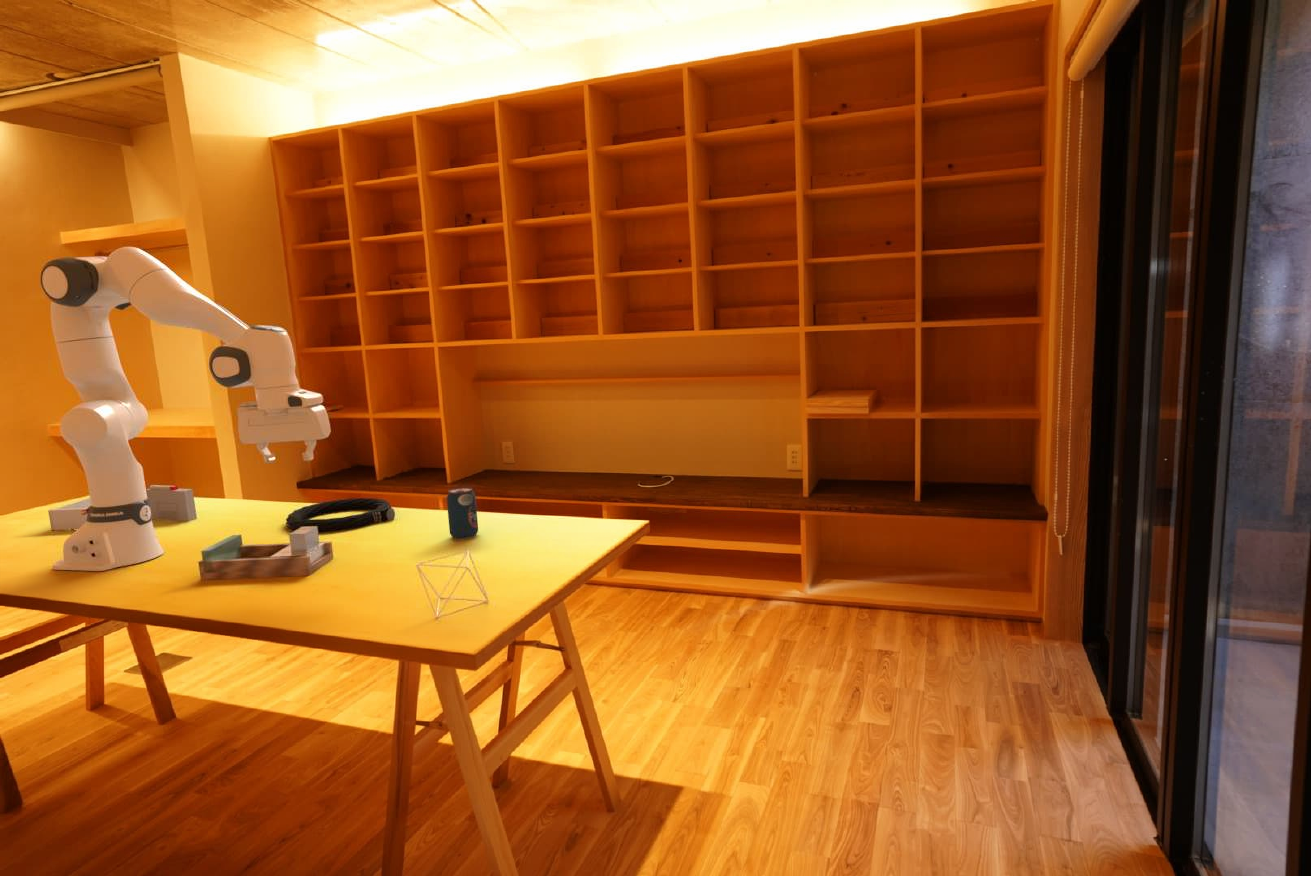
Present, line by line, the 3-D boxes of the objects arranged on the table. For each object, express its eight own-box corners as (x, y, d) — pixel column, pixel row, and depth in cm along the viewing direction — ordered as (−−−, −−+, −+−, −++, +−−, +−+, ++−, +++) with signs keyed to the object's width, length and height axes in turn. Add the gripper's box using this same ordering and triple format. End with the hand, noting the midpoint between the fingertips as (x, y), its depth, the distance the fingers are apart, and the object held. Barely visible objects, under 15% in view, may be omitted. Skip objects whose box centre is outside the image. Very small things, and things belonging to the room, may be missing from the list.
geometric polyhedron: (413, 606, 145) (408, 560, 143) (464, 590, 152) (460, 546, 150) (444, 623, 136) (439, 575, 134) (497, 605, 143) (493, 559, 141)
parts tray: (51, 531, 216) (48, 510, 215) (110, 510, 239) (107, 491, 238) (96, 529, 216) (92, 508, 215) (151, 508, 239) (148, 490, 238)
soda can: (478, 538, 188) (474, 491, 186) (449, 541, 186) (445, 493, 184) (478, 531, 195) (474, 485, 193) (450, 534, 193) (446, 488, 191)
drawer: (200, 579, 166) (196, 550, 165) (232, 562, 178) (228, 535, 177) (309, 575, 166) (305, 546, 165) (333, 558, 177) (330, 531, 176)
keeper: (271, 567, 167) (267, 536, 166) (291, 554, 176) (288, 525, 175) (307, 566, 167) (303, 535, 166) (325, 553, 176) (322, 524, 175)
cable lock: (325, 496, 229) (416, 496, 223) (327, 508, 230) (418, 508, 224) (261, 520, 203) (362, 521, 196) (263, 534, 203) (364, 535, 197)
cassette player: (197, 519, 223) (192, 485, 221) (188, 521, 220) (183, 487, 219) (157, 517, 228) (152, 484, 226) (149, 519, 225) (143, 486, 224)
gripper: (226, 404, 165) (237, 466, 168) (312, 398, 162) (322, 461, 165) (245, 400, 172) (256, 460, 174) (329, 394, 168) (338, 455, 171)
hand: (289, 461), depth 169 cm, fingers open, 8 cm apart
